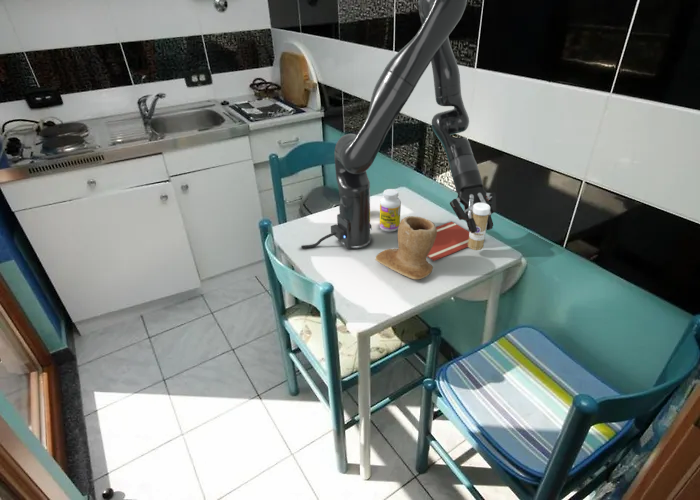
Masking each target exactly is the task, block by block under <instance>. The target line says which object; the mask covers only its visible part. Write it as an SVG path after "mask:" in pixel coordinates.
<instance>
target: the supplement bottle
mask: <svg viewBox="0 0 700 500" xmlns="http://www.w3.org/2000/svg"><path fill="white" fill-rule="evenodd" d="M382 194H383V196H382V198H380V200H379V201H380V202H379V228H380V229H381V230H382V231H384V232H391V233H392V232H395V231H398V227H399V224H400V222H401V209H402V208H401V207H402V201H401V199H400V198H399V191H398V190H397V189H394V188H387V189H384V190H383V193H382Z"/></svg>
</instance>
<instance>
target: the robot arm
mask: <svg viewBox="0 0 700 500" xmlns="http://www.w3.org/2000/svg"><path fill="white" fill-rule="evenodd" d="M467 3H468V0H418V3H417V8H418V14H419V17H420V23H421V26H420V28H419V29H418V31H417V33H416V34H415V36H413V37H412V39H411V40H410V41H409V42H408V43H407V44H406V45H404V47H402V48H401V49H400V50H399V51H398V52H396V54H395V55H394V56H393V57H392V58H391V59H390V60H389V62H388V63H387V64H386V66H385V67H384V69H383V71H382V73H381V74H380V76H379V78H378V79H377V81H376V83H375V86H374V88H373V91H372V94H371V98H370V102H369V107H368V112H367V115H366V118H365V120H364V122H363V124H362V126H361V127H360V129H359V131H358V132H357V134H356V133H347V134H344V135H342V136H340V138H338V140H337V142H336V144H335V146H334V153H333V154H334V169H335V179H336V183H337V187H338V205H339V207H338V209H339V213H337V215H336V221H337V223H335V224H333V225H330V233H329V234H327V235H324V236H323V237H321V238H319V239H318V240H317V242H316V243H312V244H305V245H304V244H303V245H301V247H300V248H301V249H311V248H315V247H317V246H319V245H320V244H321V243H322V242H324V241H325V240H326V239H329V238H331V237H333V236H334V237H335V238H336V239H337V241H338V242H339V243H340V244H341V245H342V246H343V247H344V248H345V249H347V250H351V249H353V250H355V249H356V250H357V249H362V248H366V247H367V246H368V245H370V243H371V231H372V228H373V227H372V226H373V225H372V223H371V182H370V179H369V176H368V172H367V171H368V170H369V169H370V168H371V166H372V165H373V164H374V161H375V160H376V158H377V155H378V154H379V152H380V149H381V147H382V146H383V143H384V142H385V139H386V137H387V135H388V133H389V131H390V129H391V128H392V127H393V125H394V123H395V122H396V120H397V118H398V117H399V114H400V113H401V111H402V110H403V108H404V107H405V105H406V103H407V102H408V100H409V98H410V97H411V96H412V93H413V92H414V91H415V89H416V87H417V85H418V83H419V82H420V80H421V78H422V76H423V75H424V73H425V72H426V70H427V68H428V67H429V66H430V63H431V70H432V76H433V77H432V78H433V87H434V96H435V97H434V98H435V102H436V104H437V105H438V106H439V107H453V109H449V110H445V111H441V112H438V113H435V114H434V115H433V117H432V119H431V128H432V131H433V133H434V134H435V136H436V137H437V139H438V140H439V142H440V143H441V145H442V147H443V149H444V152H445V155H446V157H447V161H448V164H449V169H450V174H451V178H452V181H453V185H454V188H455V191H456V193H457V198H453V199H452V200H451V201H449V206H450V207H451V209H452V210H453V212H454V214H455V215H456V217H457V219H458V220H460V221H461V220H462V221H465V222H466V225H467V229H468V231H469V232H470V231H471V233H475V232H477V228H476V225H475V221H474V219H472V217H473V205H474V204H475V203H486V204H488V205H489V206H490V213H489V215H488V220H487V228H486V231H490V230H492V229H494V222H493V219H492V214H494V213H496V212H497V193H496V192H495V191H493V192H487V191H486V190H485V189H484V182H483V179H482V176H481V173H480V169H479V167H478V163H477V160H476V159H475V156H474V153H473V150H472V146H471V143H470V141H469V139H468V138H466V137H455V136H454V137H453V136H452V135H456V134H460V133H464V132H466V130H467V129H468V128H469V125H470V117H469V115H468V112H467V110H466V107H465V104H464V101H463V96H462V90H461V89H462V88H461V87H462V86H461V77H460V76H461V75H460V69H459V65H458V62H457V59H456V56H455V54H454V51H453V49H452V45H451V41H450V38H449V36H450V34H451V33H452V32H453V31H454V29H455V27H456V26H457V25H458V23H459V22H460V20H461V19H462V17H463V15H464V13H465V11H466V8H467ZM486 201H487V202H486ZM461 204H462V205H463V207H462V206H461Z"/></svg>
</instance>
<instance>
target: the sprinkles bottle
mask: <svg viewBox="0 0 700 500" xmlns="http://www.w3.org/2000/svg"><path fill="white" fill-rule="evenodd" d="M486 203H487V202H486ZM486 203H475V204H474V205H473V217H472V219H474V221H475V225H476V228H477V232H475V233H471V231H469V232H470V233H469V242H468V247H467V248H469V250H472V251H481V250H482V249H484V243H485V238H486V234H487V233H486V232H487V229H486V228H487V220H488V215H489V213H490V206H489V205H488V203H487V204H486Z"/></svg>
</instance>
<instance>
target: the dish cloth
mask: <svg viewBox="0 0 700 500" xmlns="http://www.w3.org/2000/svg"><path fill="white" fill-rule="evenodd" d="M436 229H437V235H436V239H435V242H434V244H433V247H432V249H431V250H430V252H429V254H428V255H427V258H429V259H430V260H432V261H433V262H435V261H437V260H440V259H443V258H445V257H447V256H449V255H452V254H454V253H457V252H459V251H462V250H464V249H466V248H469V247H468V242H469V233H470V231H469V230H467V229H466V228H464V227H463V226H460V225H459V224H457V223H455V222H453V221H450V222H446V223H443V224H440V225H439V226H438V225H437V226H436Z"/></svg>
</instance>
